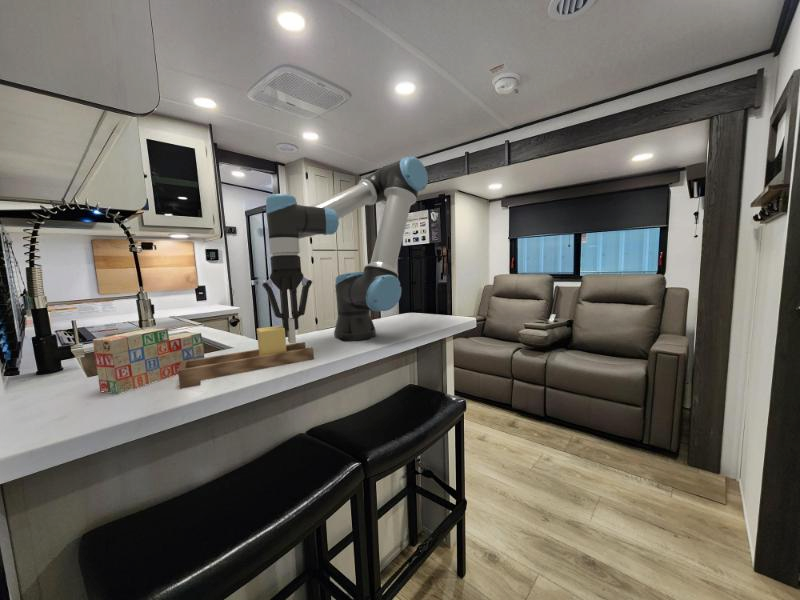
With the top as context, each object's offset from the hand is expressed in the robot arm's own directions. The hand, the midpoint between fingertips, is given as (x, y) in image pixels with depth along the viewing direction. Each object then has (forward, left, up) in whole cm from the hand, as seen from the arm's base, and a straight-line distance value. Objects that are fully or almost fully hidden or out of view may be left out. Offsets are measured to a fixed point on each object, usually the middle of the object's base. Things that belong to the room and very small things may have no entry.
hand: (292, 342), depth 87 cm
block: (+5, 0, -5) cm, 7 cm away
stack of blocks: (+31, -9, -6) cm, 33 cm away
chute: (+11, 0, -6) cm, 12 cm away
